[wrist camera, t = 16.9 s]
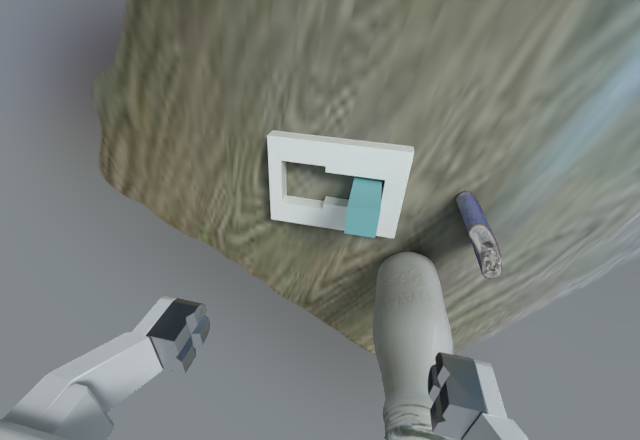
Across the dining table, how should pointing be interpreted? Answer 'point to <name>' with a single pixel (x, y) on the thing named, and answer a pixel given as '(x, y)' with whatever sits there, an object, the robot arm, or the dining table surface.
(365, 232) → the key block
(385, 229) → the keyhole plate
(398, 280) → the white bottle
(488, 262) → the flask
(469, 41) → the dining table surface
